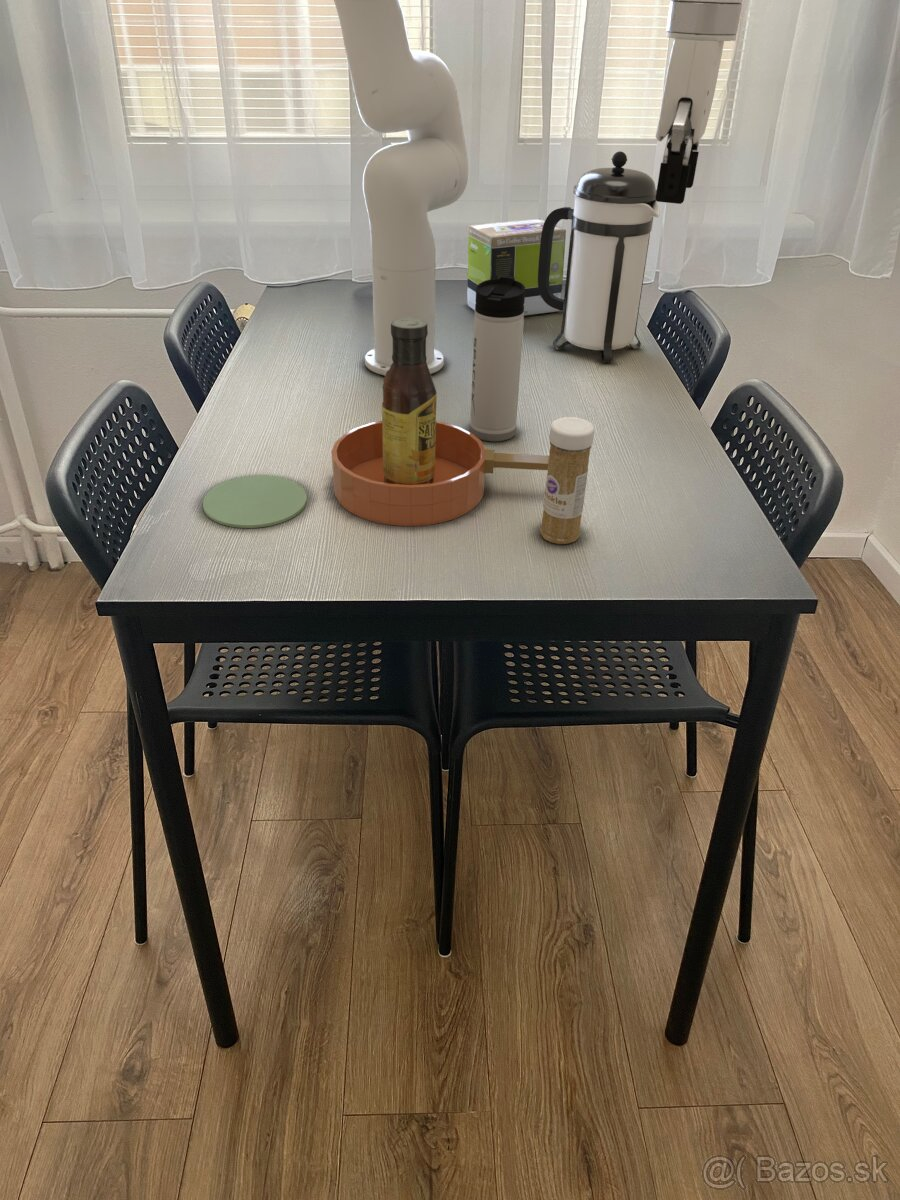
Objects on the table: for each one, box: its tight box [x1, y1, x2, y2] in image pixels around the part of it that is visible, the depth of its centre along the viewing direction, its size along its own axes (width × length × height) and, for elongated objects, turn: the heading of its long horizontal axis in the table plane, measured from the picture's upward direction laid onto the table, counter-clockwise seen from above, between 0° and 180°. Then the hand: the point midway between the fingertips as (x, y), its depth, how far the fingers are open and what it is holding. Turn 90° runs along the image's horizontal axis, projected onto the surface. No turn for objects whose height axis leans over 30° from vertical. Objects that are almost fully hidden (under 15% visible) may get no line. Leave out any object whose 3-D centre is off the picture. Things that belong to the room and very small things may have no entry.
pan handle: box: [484, 448, 549, 475], centre depth 104 cm, size 11×3×2 cm, turn 86°
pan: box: [331, 420, 486, 527], centre depth 106 cm, size 18×18×5 cm
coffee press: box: [538, 151, 661, 364], centre depth 140 cm, size 17×16×30 cm
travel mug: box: [469, 276, 525, 443], centre depth 115 cm, size 6×7×20 cm
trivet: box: [202, 474, 308, 529], centre depth 103 cm, size 12×12×1 cm
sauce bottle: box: [381, 318, 437, 485], centre depth 101 cm, size 7×6×20 cm
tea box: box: [466, 218, 567, 317], centre depth 160 cm, size 15×10×15 cm
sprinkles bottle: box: [539, 416, 595, 545], centre depth 95 cm, size 5×5×13 cm
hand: (674, 194), depth 105 cm, fingers open, 9 cm apart
